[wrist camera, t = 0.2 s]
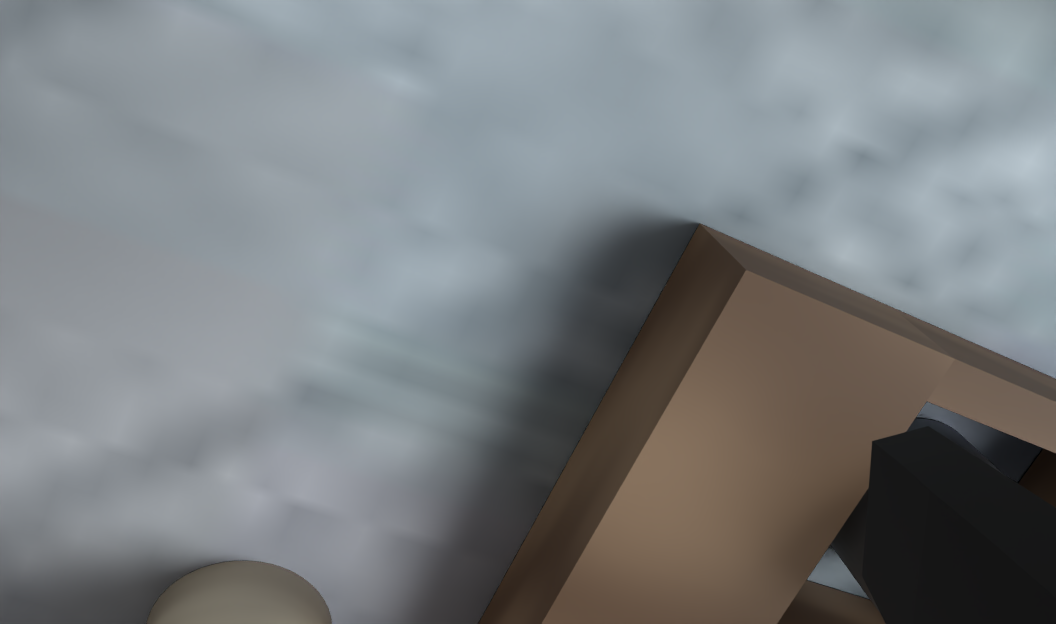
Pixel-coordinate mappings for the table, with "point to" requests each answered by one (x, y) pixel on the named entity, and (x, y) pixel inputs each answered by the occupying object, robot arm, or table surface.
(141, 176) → the table surface
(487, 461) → the table surface
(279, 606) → the birch peg
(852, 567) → the pocket board
